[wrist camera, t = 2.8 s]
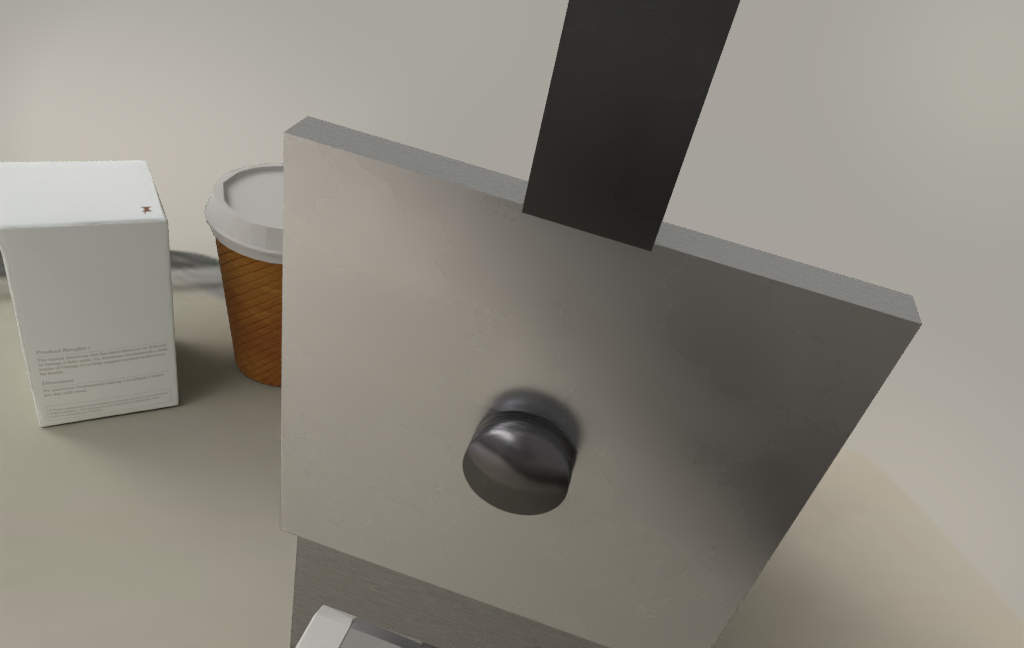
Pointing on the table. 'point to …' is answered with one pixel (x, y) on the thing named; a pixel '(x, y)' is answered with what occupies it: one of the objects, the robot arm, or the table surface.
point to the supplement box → (89, 286)
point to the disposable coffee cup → (252, 264)
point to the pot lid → (563, 354)
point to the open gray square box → (409, 605)
